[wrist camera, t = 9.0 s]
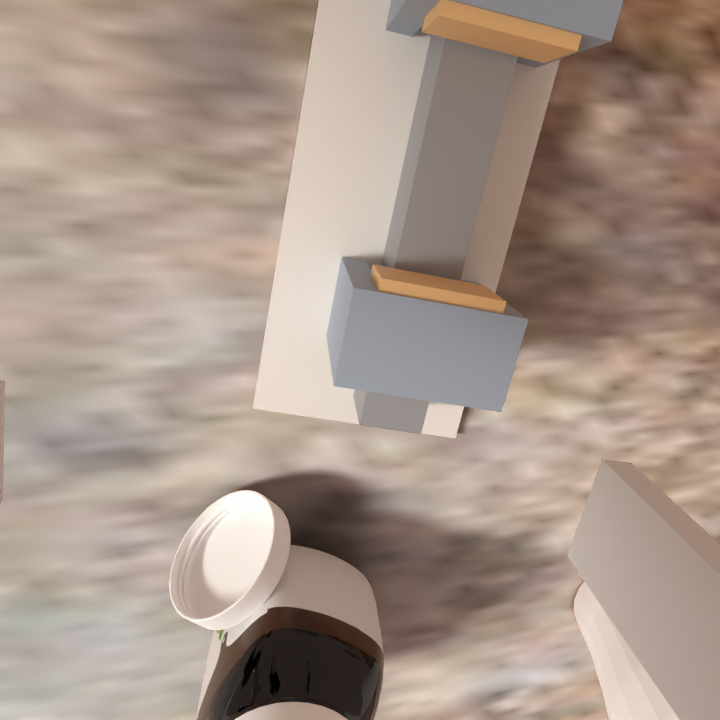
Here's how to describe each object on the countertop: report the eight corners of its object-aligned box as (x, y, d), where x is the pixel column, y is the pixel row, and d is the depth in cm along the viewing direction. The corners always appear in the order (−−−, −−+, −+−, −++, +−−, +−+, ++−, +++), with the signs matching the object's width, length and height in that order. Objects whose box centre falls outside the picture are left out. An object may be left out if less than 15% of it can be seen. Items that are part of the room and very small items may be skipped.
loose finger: (326, 335, 30) (333, 386, 24) (343, 246, 29) (356, 274, 22) (458, 357, 31) (501, 412, 25) (481, 273, 30) (532, 307, 24)
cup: (622, 685, 41) (768, 926, 28) (505, 623, 38) (607, 858, 25) (731, 573, 39) (943, 781, 26) (614, 499, 36) (787, 690, 23)
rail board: (253, 404, 32) (247, 438, 28) (355, -226, 24) (366, -297, 20) (453, 434, 33) (472, 470, 30) (612, -145, 25) (667, -197, 22)
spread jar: (310, 676, 38) (315, 888, 27) (137, 619, 36) (65, 828, 25) (403, 528, 35) (450, 699, 24) (222, 454, 33) (183, 607, 22)
